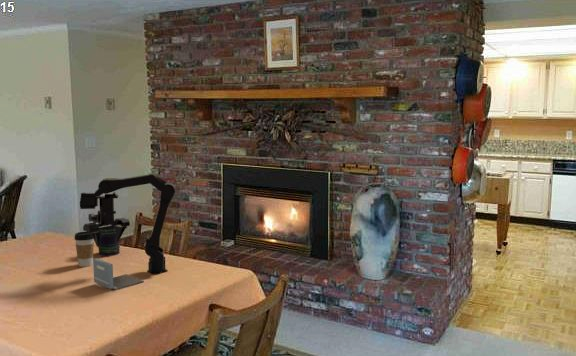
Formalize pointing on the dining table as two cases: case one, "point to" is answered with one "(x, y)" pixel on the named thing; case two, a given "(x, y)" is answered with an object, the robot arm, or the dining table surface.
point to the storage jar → (108, 242)
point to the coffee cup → (84, 248)
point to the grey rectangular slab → (103, 273)
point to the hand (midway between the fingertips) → (107, 244)
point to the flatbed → (125, 281)
